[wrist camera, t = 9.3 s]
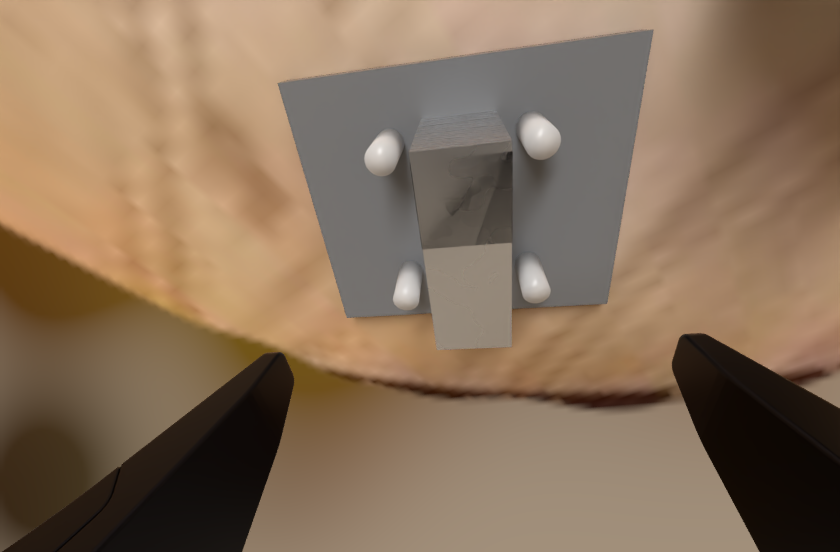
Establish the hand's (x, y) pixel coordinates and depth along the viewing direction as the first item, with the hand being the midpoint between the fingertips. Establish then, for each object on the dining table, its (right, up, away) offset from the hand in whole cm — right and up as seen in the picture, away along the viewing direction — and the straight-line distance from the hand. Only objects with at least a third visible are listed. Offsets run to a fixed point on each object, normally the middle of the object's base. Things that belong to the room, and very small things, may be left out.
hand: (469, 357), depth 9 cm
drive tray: (+1, +6, +9) cm, 11 cm away
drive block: (+1, +5, +9) cm, 10 cm away
